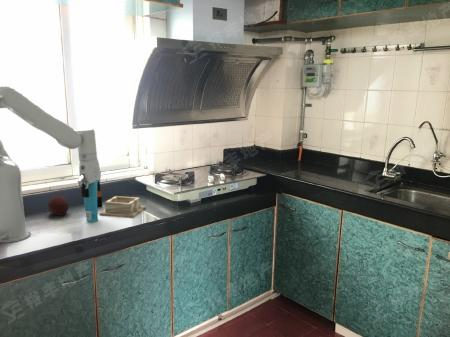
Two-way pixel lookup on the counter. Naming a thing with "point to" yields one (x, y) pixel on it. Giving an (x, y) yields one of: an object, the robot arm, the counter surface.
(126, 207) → the socket block
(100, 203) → the battery
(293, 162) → the counter surface
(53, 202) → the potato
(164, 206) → the counter surface
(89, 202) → the tube
